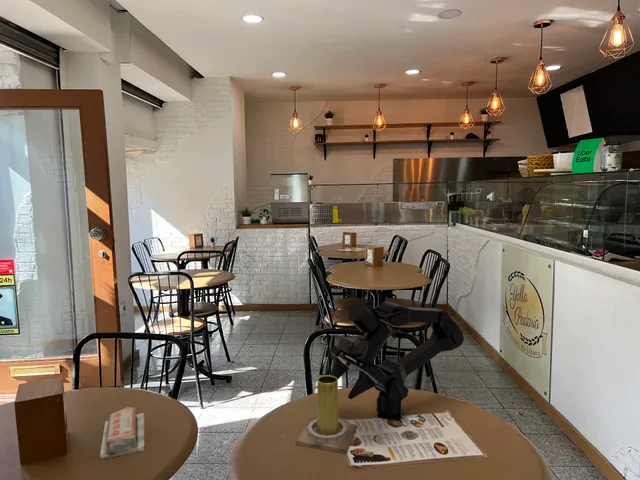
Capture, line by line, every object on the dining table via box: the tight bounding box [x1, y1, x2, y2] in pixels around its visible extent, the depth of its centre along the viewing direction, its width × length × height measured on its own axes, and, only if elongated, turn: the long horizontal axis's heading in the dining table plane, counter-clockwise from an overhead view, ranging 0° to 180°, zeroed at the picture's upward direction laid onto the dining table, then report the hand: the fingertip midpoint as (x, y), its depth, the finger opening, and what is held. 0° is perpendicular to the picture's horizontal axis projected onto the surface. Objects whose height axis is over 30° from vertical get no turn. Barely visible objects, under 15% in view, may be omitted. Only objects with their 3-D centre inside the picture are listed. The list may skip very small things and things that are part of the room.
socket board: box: [295, 417, 358, 454], centre depth 113 cm, size 13×12×2 cm
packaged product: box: [99, 406, 145, 461], centre depth 113 cm, size 18×5×10 cm
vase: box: [316, 374, 340, 436], centre depth 113 cm, size 6×6×14 cm
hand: (338, 391), depth 114 cm, fingers open, 9 cm apart
